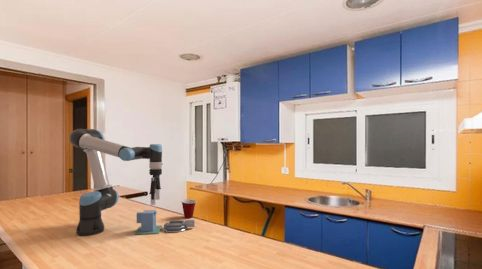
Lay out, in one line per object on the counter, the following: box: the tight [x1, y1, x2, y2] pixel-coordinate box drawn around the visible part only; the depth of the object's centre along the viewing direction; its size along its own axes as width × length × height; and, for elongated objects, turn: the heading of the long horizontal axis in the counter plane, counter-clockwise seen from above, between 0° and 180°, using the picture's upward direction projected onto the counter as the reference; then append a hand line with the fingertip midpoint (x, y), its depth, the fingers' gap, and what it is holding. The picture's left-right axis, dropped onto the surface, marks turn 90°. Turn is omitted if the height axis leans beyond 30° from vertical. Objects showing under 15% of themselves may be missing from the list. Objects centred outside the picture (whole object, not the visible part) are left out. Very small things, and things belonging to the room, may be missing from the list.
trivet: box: [133, 225, 163, 236], centre depth 170 cm, size 14×14×1 cm
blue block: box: [136, 209, 157, 232], centre depth 170 cm, size 7×12×11 cm, turn 92°
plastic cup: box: [180, 198, 197, 219], centre depth 198 cm, size 11×11×12 cm
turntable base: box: [162, 226, 189, 234], centre depth 173 cm, size 15×15×1 cm
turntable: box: [163, 218, 196, 231], centre depth 173 cm, size 14×19×4 cm
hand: (155, 202), depth 175 cm, fingers open, 13 cm apart
